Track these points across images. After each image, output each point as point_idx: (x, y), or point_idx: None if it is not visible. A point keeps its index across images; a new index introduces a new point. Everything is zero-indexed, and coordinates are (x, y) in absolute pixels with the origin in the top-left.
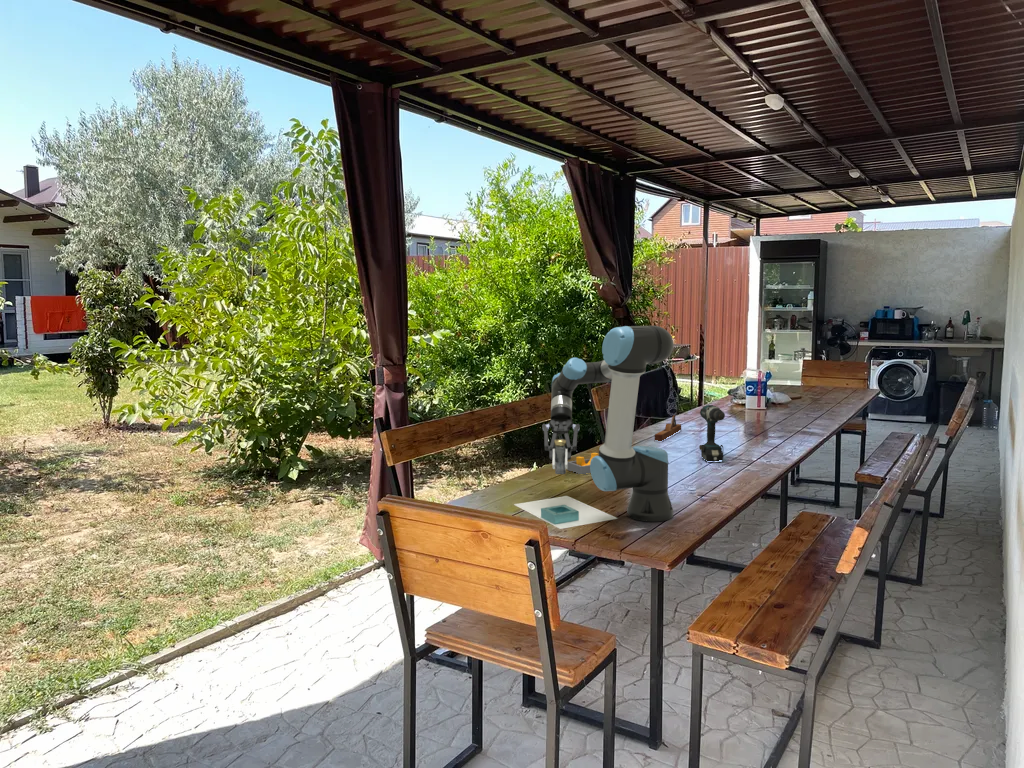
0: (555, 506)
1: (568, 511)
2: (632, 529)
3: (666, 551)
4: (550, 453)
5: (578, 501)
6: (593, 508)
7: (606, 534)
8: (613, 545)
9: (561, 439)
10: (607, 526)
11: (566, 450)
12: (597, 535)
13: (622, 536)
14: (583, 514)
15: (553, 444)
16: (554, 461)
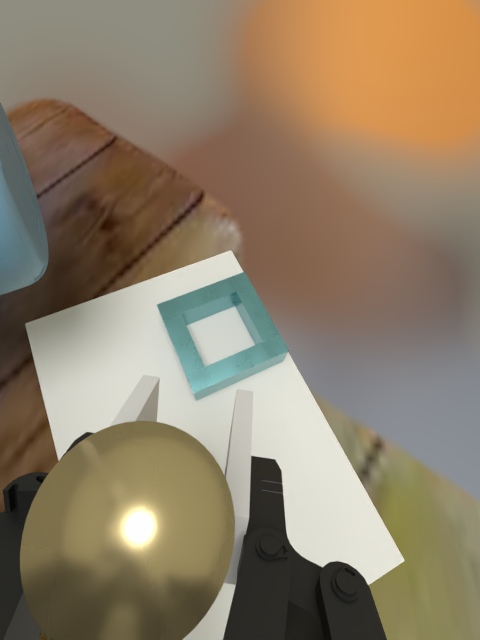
0: (232, 369)
1: (193, 305)
2: None
3: (18, 126)
4: (272, 493)
5: None
6: None
7: (110, 227)
8: (119, 164)
9: (87, 613)
10: (83, 285)
11: None
12: (136, 223)
13: (74, 210)
14: (129, 378)
15: (239, 593)
16: (236, 405)
